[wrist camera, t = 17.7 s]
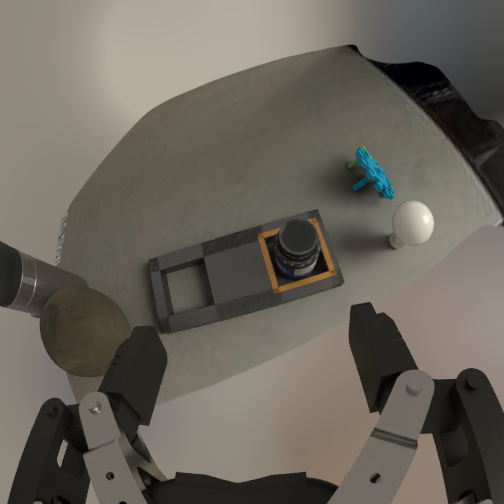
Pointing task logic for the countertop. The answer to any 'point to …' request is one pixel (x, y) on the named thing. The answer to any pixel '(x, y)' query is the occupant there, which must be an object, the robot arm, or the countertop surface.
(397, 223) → the lightbulb
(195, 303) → the countertop surface
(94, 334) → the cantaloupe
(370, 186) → the countertop surface
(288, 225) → the pill bottle
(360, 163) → the blue branched piece
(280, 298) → the grey rectangular tray
